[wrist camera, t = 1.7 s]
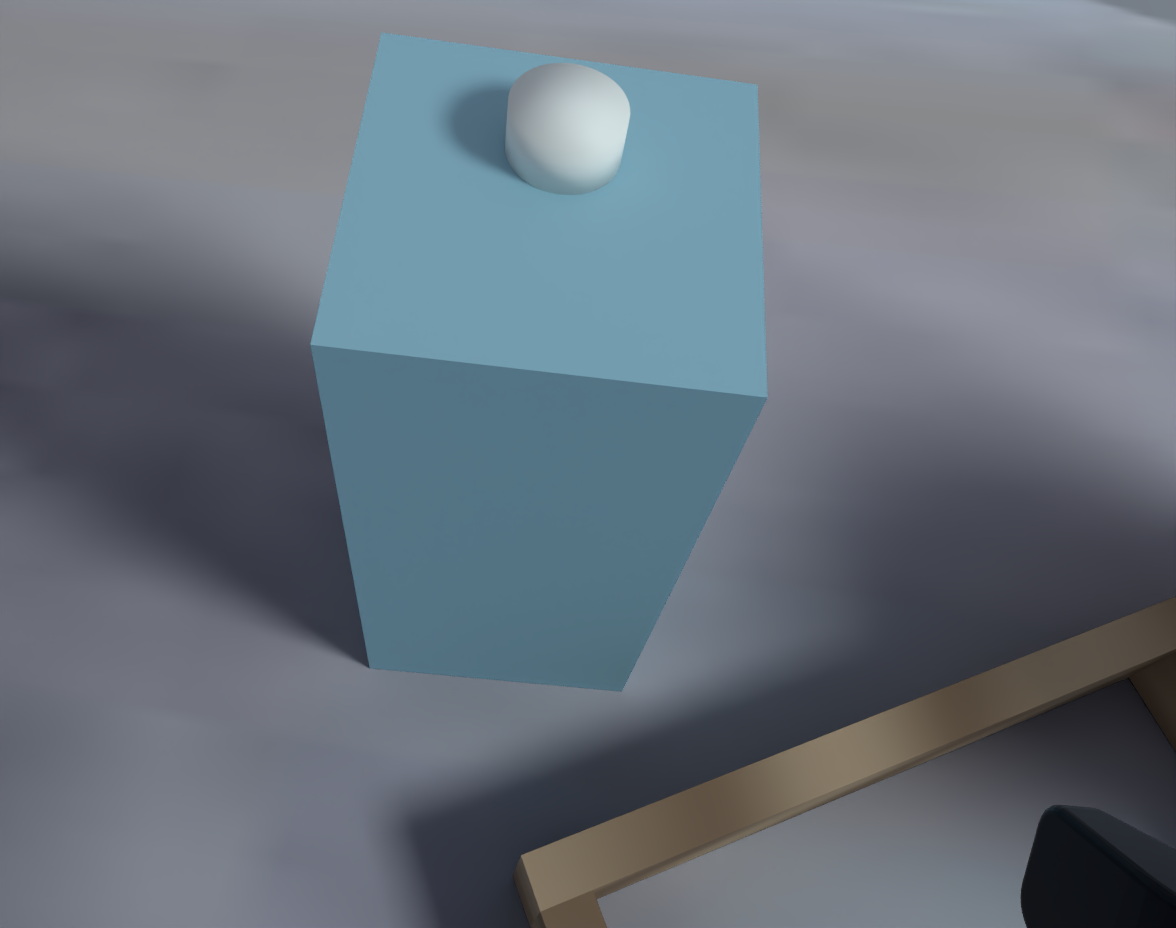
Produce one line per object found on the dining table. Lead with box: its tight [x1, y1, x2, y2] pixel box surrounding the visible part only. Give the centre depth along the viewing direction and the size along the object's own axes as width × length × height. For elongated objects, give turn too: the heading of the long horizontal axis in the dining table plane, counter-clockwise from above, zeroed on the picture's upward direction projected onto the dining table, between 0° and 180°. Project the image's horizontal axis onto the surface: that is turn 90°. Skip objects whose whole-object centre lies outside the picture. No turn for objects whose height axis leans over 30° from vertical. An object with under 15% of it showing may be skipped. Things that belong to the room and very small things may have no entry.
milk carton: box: [310, 33, 768, 692], centre depth 19 cm, size 6×6×13 cm
